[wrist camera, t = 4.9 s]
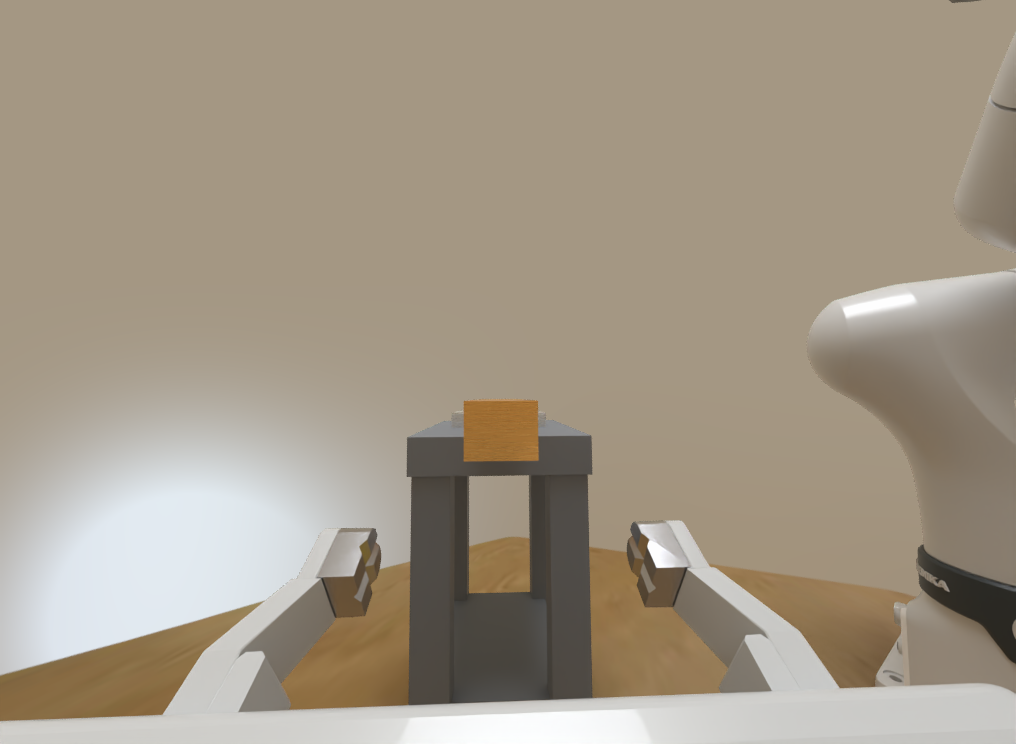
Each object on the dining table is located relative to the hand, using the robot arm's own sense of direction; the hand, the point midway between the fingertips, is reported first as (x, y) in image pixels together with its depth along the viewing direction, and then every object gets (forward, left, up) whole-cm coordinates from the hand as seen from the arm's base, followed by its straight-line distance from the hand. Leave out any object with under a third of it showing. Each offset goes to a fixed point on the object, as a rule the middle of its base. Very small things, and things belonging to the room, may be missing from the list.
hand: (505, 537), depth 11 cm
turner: (-10, -11, +2) cm, 15 cm away
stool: (-13, -14, -24) cm, 31 cm away
